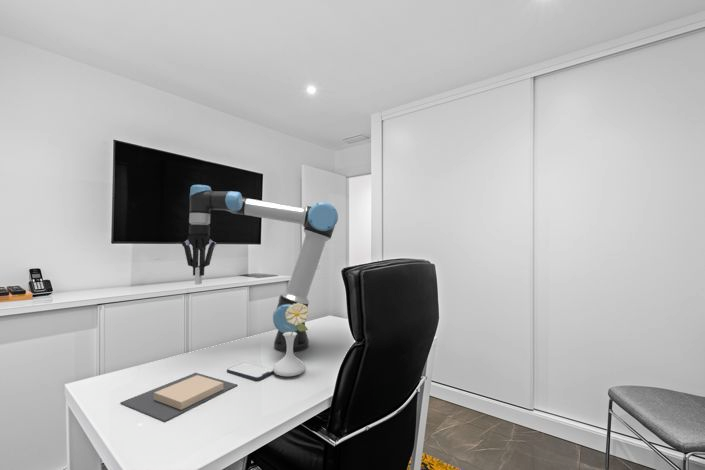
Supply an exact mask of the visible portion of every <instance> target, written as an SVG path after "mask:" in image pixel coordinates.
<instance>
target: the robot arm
mask: <svg viewBox="0 0 705 470" xmlns="http://www.w3.org/2000/svg"><path fill="white" fill-rule="evenodd" d="M189 190H190V192H189V217H188V223H189V226H188V237H187V239H186V240H185V241H182V242H181V245H182V247H183V249H184V253H185V258H186V263H187V266H189V267H192V276H194V285H202V282H203V281H202V280H203V276H205V267H208V266H210V264H211V262H212V261H211V260H212V256H213V253H214V249H215V247H216V246H217V242H215V241H213V240H212V238H211V236H210V235H211V226H210V224H211V210H212V211H226V212H230V213H231V214H234V215H244V216H251V217H256V218H261V219H268V220H275V221H278V222H279V221H281V222H286V223H291V224H292V223H293V224H299V225H301V226H302V227H303V232H304V234H305V237H304V240H303V242H302V246H301V247H300V251H299V254H298V257H297V260H296V262H295V266H294V267H293V271H292V274H291V277H290V279H289V283H288V286H287V288H286V291H284V292H282V293H281V294H280V295H279V297H278V304H277V307H276V309H275V310H274V312H273V314H272V322H273V325H274V327H275V328H276V329H277V333H276V336H275V337H274V341H273V348H274V350H276V351H280V352H285V353H286V351H287V345H286V339H285V337H284V336H283V333H286V332H292V331H293V330H294V328H295V327H296V325H293V324H290V323H288V322H287V320H288V319H286V316H285V313H286V311H287V309H288V308H289V306H291V305H293V304H297V303H300V304H303V305H305V306H307V308H308V307H309V303H310V302H309V300H308V296H309V293H310V289H311V287H312V283H313V280H314V277H315V274H316V271H317V269H318V266H319V263H320V260H321V256H322V253H323V251H324V247H325V244H326V243H327V241H329V240H331V239H332V236H333V232H334V231H335V228H336V225H337V223H338V221H339V213H338V210H337V209H336V208H335V206H334V205H332V204H331V203H330V202H326V201H320V202H317V203H315V204H313V205H312V206H309V205H306V206H305V207H302V206H295V205H289V204H284V203H279V202H272V201H271V202H270V201H266V200H261V199H260V200H259V199H253V198H249V197H248V198H247V197H243V196H242V193H241V192H240V191H234V190H233V191H232V190H231V191H230V190H229V191H228V190H227V191H223V190H222V191H218V190H217V191H215V190H212V188H211V186H209V185H205V184H193V185H192V186H191V187H190V189H189ZM190 245H191V246H192V247H190ZM208 245H209V246H208ZM207 246H208V249H207ZM191 248H192V250H191ZM206 250H207V252H206ZM301 324H304V325H305V326H306V321H305V322H303V323H301ZM284 325H285V326H284ZM299 325H300V324H299ZM286 326H288V327H290V328H291V329H290V328H288V327H286ZM297 326H298V325H297ZM293 332H296V333H297V335H296V337H295V339H294V343H293V352H300V351H302V350H306V349H308V348H309V344H310V343H309V342H310V341H309V337H308V334H307V330H306V331H299V330H298V329H297V327H296V329H295V330H294V331H293ZM305 348H306V349H305Z"/></svg>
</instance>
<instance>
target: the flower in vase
mask: <svg viewBox="0 0 705 470" xmlns="http://www.w3.org/2000/svg"><path fill="white" fill-rule="evenodd" d="M309 314H310V311H309V310H308V307H307V306H305V305H303V304H300V303H297V304H293V305H291V306H289V308H288V309H287V311H286V313H285V316H286V319H288V320H287V322H288V323H290V324H293V325H296V327H297V329H298V330H299V331H306V332H307V331H308V327H307V326H306V324H305V325H304V324H301V323H303V322H305V323H306V321H307V319H308V318H309ZM299 324H300V325H299ZM297 325H298V326H297ZM284 326H285V325H284ZM286 327H288V326H286ZM296 327H295V328H294V330H295V329H296ZM288 328H290V327H288ZM290 329H291V328H290ZM294 330H293V331H294ZM293 331H292V332H286V333H283V336H284V337H285V339H286V345H287V351H286V352H285V355H284V356H283V357H282V358H281V359H279V360H278V361H277V362H276V363H275V364H274V366H273V368H272V369H273V371H274V374H275V375H277V376H281V377H295V376H298V375H300V374H302V373H304V372H305V370H306V368H307V367H306V364H305V363H304V362H303V361H302V360H301V359H300V358H298V357H297V356H295V354H294V351H293V343H294V339H295V337H296V335H297V333H296V332H293Z"/></svg>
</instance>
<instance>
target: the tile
mask: <svg viewBox="0 0 705 470" xmlns="http://www.w3.org/2000/svg"><path fill="white" fill-rule="evenodd" d="M221 390H223V382H219V381H216V380H212V379H209V378H205V377H202V376H198V375H196V376H194V377H191V378H189V379H186V380H184V381H181V382H179V383H177V384H174V385H172V386H169V387H167V388H164V389H162V390H159V391H157V392H154V400H156V401H159V402H161V403H164V404H167V405H169V406H172V407H175V408H177V409H180V410H183V409H185V408H187V407H189V406H191V405H193V404H195V403H197V402H199V401H201V400H203V399H205V398H207V397H209V396H211V395H213V394H215V393H217V392H219V391H221Z"/></svg>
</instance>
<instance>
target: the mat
mask: <svg viewBox="0 0 705 470" xmlns="http://www.w3.org/2000/svg"><path fill="white" fill-rule="evenodd" d="M196 375H198V376H202V377H205V378H209V379H212V380H216V381H219V382H223V390H221V391H219V392H217V393H215V394H213V395H211V396H209V397H207V398H205V399H203V400H201V401H199V402H197V403H195V404H193V405H191V406H189V407H187V408H185V409H183V410H180V409H177V408H175V407H172V406H169V405H167V404H164V403H161V402H159V401H156V400H154V392H157V391H159V390H162V389H164V388H167V387H169V386H172V385H174V384H177V383H179V382H181V381H184V380H186V379H189V378H191V377H194V376H196ZM236 387H238V384H237V383H233V382H230V381H226V380H223V379H220V378H215V377H213V376H208V375H206V374H201V373H197V372H194V373H192V374H189V375H186V376H184V377H181V378H179V379H176V380H173V381H170V382H169V383H166V384H164V385H161V386H158V387H155V388H152V389H151V390H148V391H146V392H142V393H140V394H137V395H135V396H134V397H133V396H132V397H131V398H128V399H125V400H123V401H121V402H120V405H123V406H125V407H127V408H130V409H131V410H134V411H137V412H139V413H141V414H144V415H145V416H149V417H151V418H154V419H156V420H158V421H161V422H163V423H166V422H168V421H170V420H173V419H174V418H177V417H179V416H180V415H182V414H184V413H186V412H188V411H190V410H192V409H194V408H196V407H198V406H201V405H202V404H204V403H206V402H209V401H210V400H212V399H214V398H217V397H218V396H220V395H222V394H224V393H226V392H228V391H231V390H233V389H235V388H236Z"/></svg>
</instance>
